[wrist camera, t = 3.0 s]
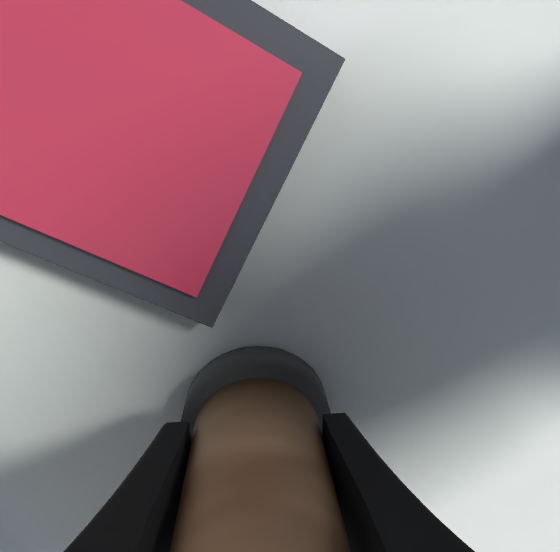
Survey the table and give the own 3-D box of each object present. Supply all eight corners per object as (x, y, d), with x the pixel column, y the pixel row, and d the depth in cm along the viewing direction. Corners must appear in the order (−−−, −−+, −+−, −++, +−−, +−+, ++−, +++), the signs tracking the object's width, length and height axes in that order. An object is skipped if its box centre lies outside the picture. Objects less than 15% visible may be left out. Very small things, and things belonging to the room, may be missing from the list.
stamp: (350, 377, 12) (444, 593, 6) (286, 477, 13) (314, 738, 7) (221, 325, 11) (189, 520, 5) (164, 437, 12) (87, 699, 6)
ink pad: (335, 67, 9) (347, 56, 8) (215, 311, 11) (211, 330, 10) (-77, -184, 7) (-140, -247, 6) (-139, 163, 9) (-196, 166, 8)
